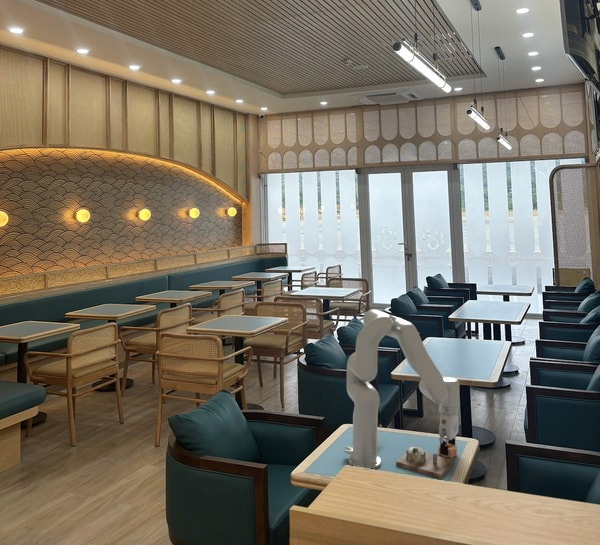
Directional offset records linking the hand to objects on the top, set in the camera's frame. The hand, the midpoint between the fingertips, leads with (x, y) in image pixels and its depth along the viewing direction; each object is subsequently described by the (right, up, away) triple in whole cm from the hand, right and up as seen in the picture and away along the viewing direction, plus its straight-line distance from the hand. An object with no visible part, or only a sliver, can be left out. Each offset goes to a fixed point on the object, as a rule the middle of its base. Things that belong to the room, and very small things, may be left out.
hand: (447, 450), depth 212 cm
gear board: (-11, -2, -9) cm, 14 cm away
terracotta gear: (0, -1, 0) cm, 1 cm away
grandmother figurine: (-28, 0, +16) cm, 32 cm away
